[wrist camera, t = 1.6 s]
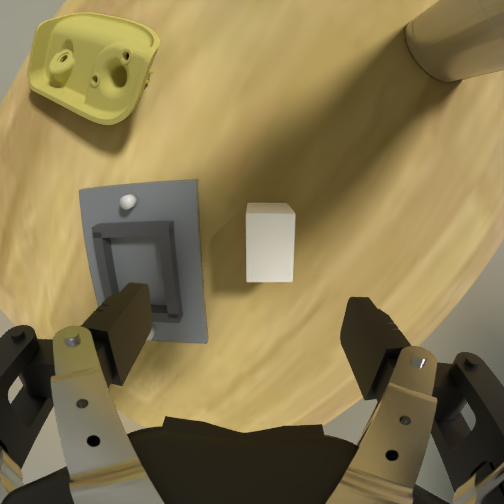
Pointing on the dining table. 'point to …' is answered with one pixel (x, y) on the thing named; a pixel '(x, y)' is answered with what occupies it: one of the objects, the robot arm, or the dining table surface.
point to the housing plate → (149, 251)
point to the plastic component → (92, 64)
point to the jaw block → (269, 242)
